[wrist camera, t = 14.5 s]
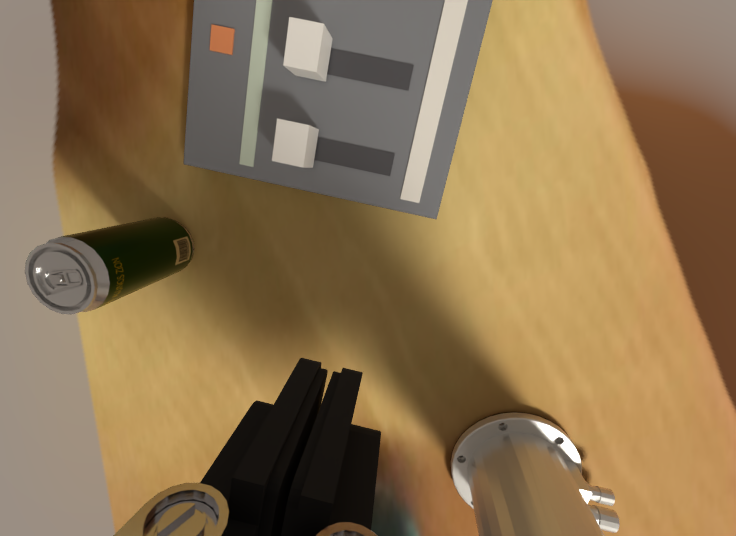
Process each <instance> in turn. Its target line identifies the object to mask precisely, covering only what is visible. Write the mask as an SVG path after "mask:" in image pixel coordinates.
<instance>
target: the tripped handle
mask: <svg viewBox="0 0 736 536" xmlns="http://www.w3.org/2000/svg"><path fill="white" fill-rule="evenodd" d="M332 39H333V38H332V37H331V35H330V33H329V31H328V30H327V28H326V26H325V25H324V24H323V23H318V22H313V21H308V20H303V19H298V18H293V17H289V24H288V32H287V39H286V47H285V55H284V63H283V66H285V67H286V68H287V69H288V70H289V71H291V72H292V73H293V74H294V75H296V76H300V77H305V78H310V79H315V80H319V81H324V82H326V77H327V71H328V65H329V58H330V52H331V46H332Z"/></svg>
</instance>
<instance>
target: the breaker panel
mask: <svg viewBox="0 0 736 536" xmlns="http://www.w3.org/2000/svg"><path fill="white" fill-rule="evenodd" d="M491 4H492V0H194V11H193V26H192V42H191V57H190V73H189V89H188V104H187V120H186V135H185V151H184V164H186V165H190V166H195V167H199V168H204V169H208V170H213V171H218V172H222V173H227V174H231V175H236V176H240V177H245V178H250V179H254V180H259V181H263V182H268V183H273V184H277V185H282V186H286V187H291V188H295V189H300V190H305V191H309V192H314V193H318V194H323V195H327V196H332V197H337V198H341V199H346V200H350V201H355V202H360V203H364V204H369V205H373V206H378V207H382V208H387V209H392V210H396V211H401V212H405V213H410V214H414V215H419V216H424V217H428V218H433V219H437V215H438V211H439V207H440V203H441V199H442V196H443V192H444V188H445V184H446V180H447V176H448V172H449V168H450V164H451V160H452V156H453V153H454V149H455V145H456V141H457V137H458V133H459V129H460V125H461V121H462V117H463V114H464V110H465V106H466V102H467V98H468V94H469V90H470V86H471V82H472V78H473V75H474V71H475V67H476V63H477V59H478V55H479V51H480V47H481V43H482V39H483V36H484V32H485V28H486V24H487V20H488V16H489V12H490V8H491ZM289 17H293V18H298V19H303V20H308V21H313V22H318V23H323V24H324V25H325V26H326V28H327V30H328V31H329V33H330V35H331V37H332V38H333V39H332V46H331V52H330V58H329V65H328V71H327V77H326V82H324V81H319V80H315V79H310V78H305V77H300V76H296V75H294V74H293V73H292V72H291V71H289V70H288V69H287V68H286V67H285V66H283V63H284V55H285V47H286V39H287V32H288V24H289Z"/></svg>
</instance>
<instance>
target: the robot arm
mask: <svg viewBox="0 0 736 536" xmlns="http://www.w3.org/2000/svg"><path fill="white" fill-rule="evenodd" d="M326 377H327V370H326V369H322V368H321V362H317V361H313V360H309V359H304V358H300V360H299V361H298V363H297V365H296V367H295V368H294V370H293V372H292V374H291V375H290V377H289V379H288V381H287V382H286V384H285V386H284V388H283V389H282V391H281V393H280V395H279V396H278V398H277V400H276V402H275V403H274V405H273V404H269V403H265V402H260V401H255V402H254V403H253V404H252V405H251V407H250V408H249V410H248V411H247V413H246V414H245V416H244V417H243V419H242V420H241V422H240V424H239V425H238V427H237V428H236V430H235V431H234V433H233V434H232V436H231V437H230V439H229V440H228V442H227V443H226V445H225V446H224V448H223V449H222V451H221V452H220V454H219V455H218V457H217V458H216V460H215V461H214V463H213V464H212V466H211V467H210V469H209V470H208V472H207V473H206V475H205V476H204V478H203V479H202V481H201V482H200V483H184V484H180V485H176V486H172V487H170V488H168V489H166V490H164V491H162V492H160V493H158V494H157V495H155V496H154V497H153V498H152V499H150V500H149V501H148V502H147V503H145V504H144V506H143V507H142V508H141V509H140V510H139V511H138V512H137V513H136V514H135V515H134V516H133V517H132V518H131V519H130V520H129V521H128V522H127V523H126V524H125V525H124V526H123V527H122V528H121V529H120V530H119V531H118V532H117V533H116V534H115V535H114V536H377V535H376V534H375V533H374V532H373V531H371V524H372V514H373V505H374V495H375V486H376V476H377V467H378V457H379V447H380V438H381V431H377V430H373V429H369V428H365V427H361V426H357V425H353V424H351V422H352V418H353V413H354V409H355V404H356V400H357V395H358V391H359V387H360V382H361V378H362V372H358V371H354V370H350V369H346V368H343V369H342V372H341V373H338V372H333V374H332V377H331V379H330V382H329V385H328V388H327V390H326V393H325V396H324V398H323V401H322V397H323V392H324V387H325V382H326ZM321 402H322V404H321ZM451 472H452V477H453V482H454V485H455V487H456V489H457V491H458V493H459V494H460V496H461V497H462V499H463V500H464V501H465V502H466V503H467V504H468V505H469V506H470V507H472V508H473V509H474V512H475V517H476V523H477V528H478V533H479V536H604V534H603V532H602V530H604V531H608V532H612V533H616V532H617V531H618V530H619V518H618V516H617V513H616V512H615V511H614V510H611V509H607V508H603V507H599V506H595V505H592V506H591V505H588V502H589V500H592V501H596V502H597V503H601V504H605V505H609V506H612V505H613V504H614V502H615V496H614V493H613V492H612V491H611V490H610V489H606V488H602V487H598V486H591V485H589V484H588V482H586V481H585V480H584V478H583V476H582V463H581V459H580V455H579V453H578V451H577V449H576V447H575V445H574V444H573V442H572V441H571V439H570V438H569V436H568V435H567V434H566V433H565V432H564V431H563V430H562V429H561V428H560V427H559V426H557V425H556V424H554V423H552V422H551V421H549V420H547V419H544V418H542V417H540V416H536V415H532V414H527V413H515V412H514V413H502V414H498V415H494V416H490V417H488V418H485V419H483V420H481V421H479V422H477V423H476V424H474V425H473V426H471V427H470V428H468V429H467V430H466V431H465V432H464V433H463V434H462V435H461V437H460V438H459V440H458V441H457V443H456V445H455V447H454V450H453V452H452V457H451Z"/></svg>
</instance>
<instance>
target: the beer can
mask: <svg viewBox="0 0 736 536" xmlns="http://www.w3.org/2000/svg"><path fill="white" fill-rule="evenodd" d="M193 251H194V243H193V239H192V237H191V234H190V233H189V232H188V230H187V229H186V228H185V227H184V226H183V225H181V224H180V223H178V222H177V221H174V220H172V219H169V218H161V217H158V218H153V219H148V220H143V221H137V222H132V223H127V224H122V225H117V226H112V227H107V228H102V229H97V230H92V231H87V232H82V233H77V234H72V235H67V236H62V237H58V238H55V239H52V240H49V241H48V242H47V243H46V244H43V245H40V246H37V247H36V248H35V249H34V250H33V251H31V252H30V254H29V256H28V258H27V260H26V265H25V274H26V279H27V283H28V285H29V287H30V289H31V291H32V293H33V294H34V295H35V297H36V298H37V299H38V300H39V301H40V302H41V303H42V304H43V305H45V306H46V307H48V308H49V309H51V310H53V311H56V312H59V313H61V314H75V313H78V312H87V311H91V310H94V309H97V308H99V307H101V306H103V305H106V304H108V303H110V302H112V301H114V300H117V299H119V298H121V297H123V296H126V295H128V294H130V293H132V292H134V291H137V290H139V289H141V288H143V287H145V286H148V285H150V284H152V283H154V282H156V281H159V280H161V279H163V278H165V277H168V276H170V275H172V274H174V273H176V272H179V271H181V270H182V269H183V268H185V267H186V266H187V265H188V263H189V262H190V260H191V258H192V256H193Z"/></svg>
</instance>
